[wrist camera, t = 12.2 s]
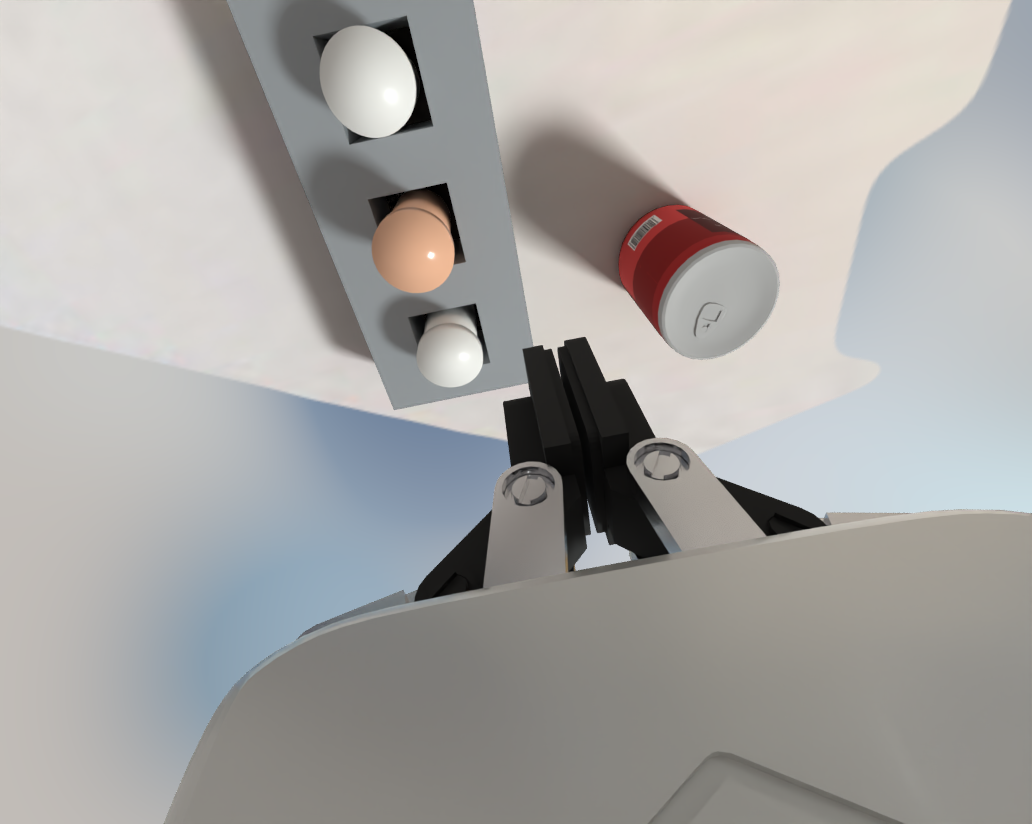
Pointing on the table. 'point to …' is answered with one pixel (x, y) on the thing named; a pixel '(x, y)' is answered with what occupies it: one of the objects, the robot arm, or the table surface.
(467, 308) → the grey plug
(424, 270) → the plug terracotta
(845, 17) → the table surface
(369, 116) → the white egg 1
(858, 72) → the table surface
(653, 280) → the canned food
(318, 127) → the socket board
